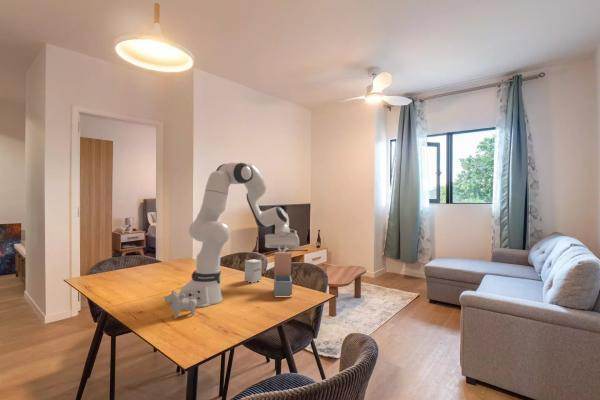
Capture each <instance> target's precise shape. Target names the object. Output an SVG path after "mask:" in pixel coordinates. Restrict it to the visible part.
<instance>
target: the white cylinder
mask: <svg viewBox="0 0 600 400" xmlns="http://www.w3.org/2000/svg"><path fill="white" fill-rule="evenodd" d="M262 263H263V261H262V260H261V259H255V258H253V259H249V260H245V261H244V282H245V281H248V282H247V283H249V282H252V283H251V284H254V283H253V282H255V283H258V282H257V281H259V280H261V281H262V269H263V268H262V266H263V265H262ZM259 282H260V281H259Z"/></svg>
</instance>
